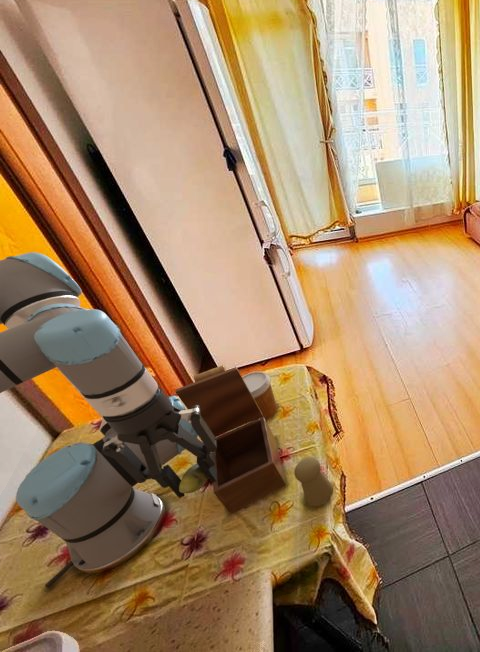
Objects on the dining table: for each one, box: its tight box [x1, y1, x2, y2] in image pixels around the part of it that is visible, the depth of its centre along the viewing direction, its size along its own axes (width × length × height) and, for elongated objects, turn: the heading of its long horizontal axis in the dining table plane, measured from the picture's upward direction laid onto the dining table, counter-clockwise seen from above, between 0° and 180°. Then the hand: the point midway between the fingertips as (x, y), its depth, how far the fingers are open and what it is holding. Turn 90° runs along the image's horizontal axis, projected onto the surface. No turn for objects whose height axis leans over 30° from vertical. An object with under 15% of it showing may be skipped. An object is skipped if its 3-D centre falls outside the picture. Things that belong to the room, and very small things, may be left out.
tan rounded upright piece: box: [294, 456, 334, 507], centre depth 80 cm, size 6×6×11 cm
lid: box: [174, 364, 263, 438], centre depth 86 cm, size 17×12×6 cm
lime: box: [179, 463, 209, 494], centre depth 68 cm, size 4×5×5 cm
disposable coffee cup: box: [241, 371, 278, 421], centre depth 102 cm, size 10×10×12 cm
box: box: [211, 417, 287, 515], centre depth 86 cm, size 16×12×9 cm
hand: (198, 483), depth 70 cm, fingers closed on lime, 5 cm apart
